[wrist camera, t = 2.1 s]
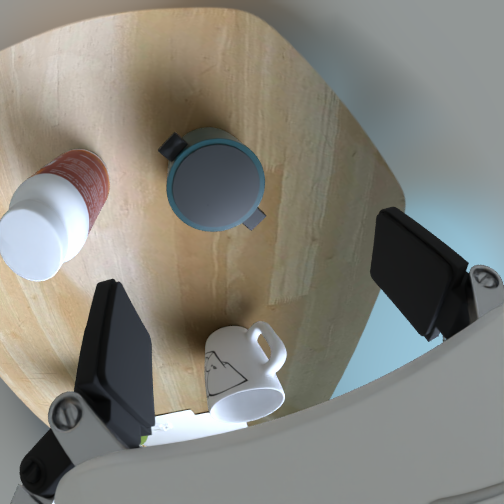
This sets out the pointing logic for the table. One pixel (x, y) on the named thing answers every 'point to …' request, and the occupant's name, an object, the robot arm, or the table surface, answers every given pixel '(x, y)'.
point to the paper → (187, 427)
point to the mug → (243, 373)
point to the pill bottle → (53, 214)
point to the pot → (213, 180)
